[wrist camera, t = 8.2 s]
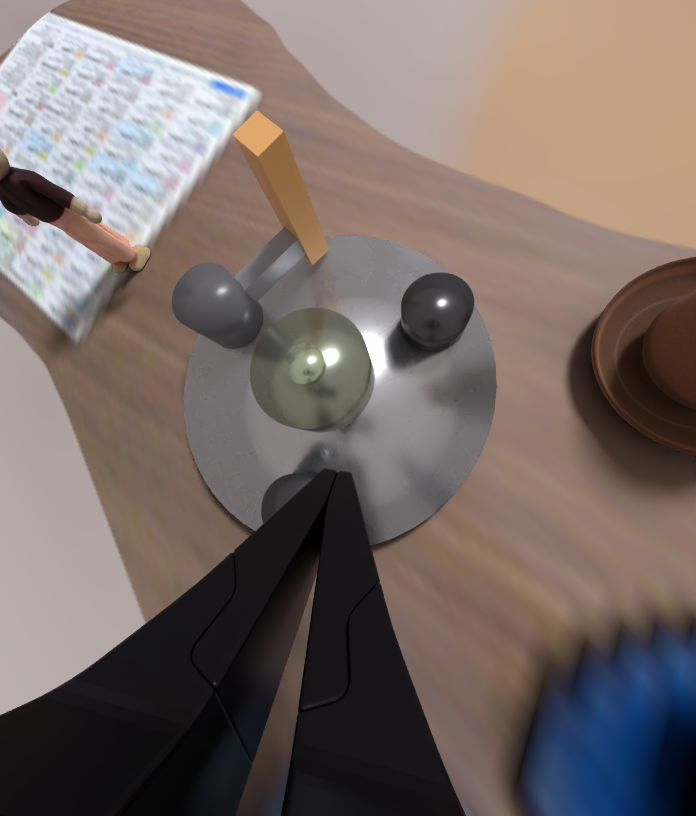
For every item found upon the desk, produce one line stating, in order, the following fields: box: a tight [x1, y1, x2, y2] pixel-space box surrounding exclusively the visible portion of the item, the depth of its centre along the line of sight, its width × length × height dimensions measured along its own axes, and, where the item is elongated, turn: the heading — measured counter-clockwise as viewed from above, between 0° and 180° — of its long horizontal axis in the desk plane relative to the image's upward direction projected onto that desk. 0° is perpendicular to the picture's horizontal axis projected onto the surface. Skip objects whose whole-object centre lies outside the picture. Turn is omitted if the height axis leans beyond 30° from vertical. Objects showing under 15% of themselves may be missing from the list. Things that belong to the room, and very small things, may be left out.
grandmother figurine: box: [0, 149, 150, 273], centre depth 23 cm, size 8×4×13 cm, turn 95°
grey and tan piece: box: [172, 111, 329, 349], centre depth 19 cm, size 12×5×8 cm, turn 132°
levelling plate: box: [184, 235, 497, 546], centre depth 20 cm, size 24×24×5 cm
